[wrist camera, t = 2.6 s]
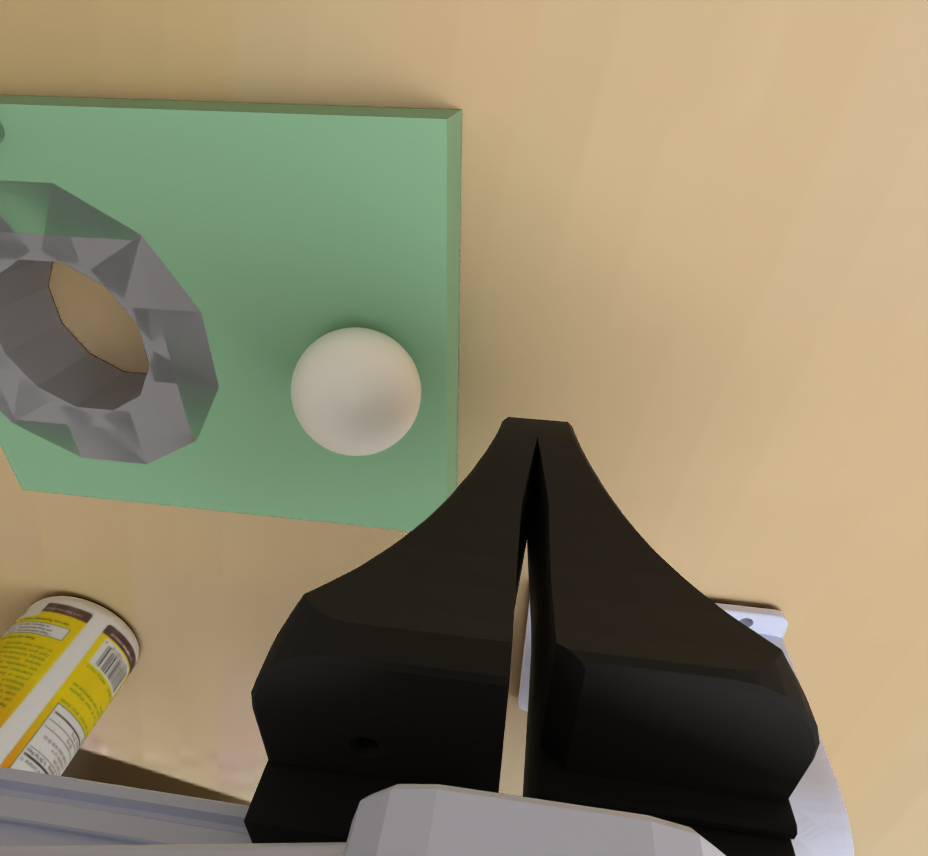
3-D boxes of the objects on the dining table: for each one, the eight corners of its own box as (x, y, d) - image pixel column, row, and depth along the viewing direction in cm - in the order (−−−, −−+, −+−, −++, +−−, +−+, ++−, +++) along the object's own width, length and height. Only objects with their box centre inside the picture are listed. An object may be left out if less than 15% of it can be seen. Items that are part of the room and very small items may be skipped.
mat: (461, 109, 15) (446, 119, 13) (456, 489, 21) (446, 535, 19) (-90, 91, 16) (-181, 97, 14) (62, 450, 23) (14, 489, 21)
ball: (430, 312, 15) (403, 368, 12) (432, 418, 17) (408, 488, 14) (309, 304, 15) (258, 357, 13) (323, 409, 17) (280, 475, 14)
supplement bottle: (15, 616, 29) (-209, 850, 21) (66, 572, 27) (-163, 817, 18) (111, 677, 31) (-58, 915, 23) (166, 642, 29) (1, 893, 20)
